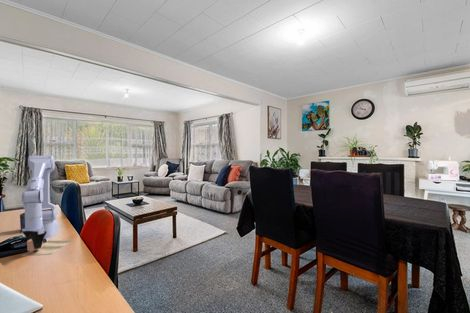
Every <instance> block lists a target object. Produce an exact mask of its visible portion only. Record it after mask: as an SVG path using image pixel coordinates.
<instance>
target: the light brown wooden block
mask: <svg viewBox="0 0 470 313" xmlns="http://www.w3.org/2000/svg"><path fill="white" fill-rule="evenodd" d="M43 244H44V241H43V242H42V246H41V248H42V247H43ZM26 245H27V247H26V248H27V252H29V251H34V250H38V249H40V248H38V249H35V248H34V246H33V241H32V239H30V240H28V241H26Z"/></svg>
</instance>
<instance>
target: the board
mask: <svg viewBox="0 0 470 313" xmlns="http://www.w3.org/2000/svg"><path fill="white" fill-rule="evenodd" d="M72 241H73V239H59V240H58V239H57V240H56V239H54V240H48V241H46V242H43V247H42V248H40V249H38V250H34V251H27V252H25V253H23V254H22V255H20V257H31V256H47V255H52V254H53V253H56V251H59V249H61V248H63V247H64V246H66V245H67V244H69V243H71V242H72Z"/></svg>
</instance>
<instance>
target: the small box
mask: <svg viewBox="0 0 470 313" xmlns="http://www.w3.org/2000/svg"><path fill="white" fill-rule="evenodd" d="M19 222H20V223H19V224H20V232H21V233H23V232H24V231H22V229H25V211H24V212H22V213H20V214H19Z"/></svg>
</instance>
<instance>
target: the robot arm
mask: <svg viewBox="0 0 470 313" xmlns="http://www.w3.org/2000/svg"><path fill="white" fill-rule="evenodd" d="M55 161H56V160H55V156H54V155H52V154H48V155H29V156H28V158H27V165H28V167H29V169H30V170H31V172H32V174H31V177H30V178H29V179H27V183H26V187H25V191H24V192H22V194H21V201H22V208H23V209H24V212H25V229H22V231H24V232H22V234H23V235H24V236H25V238H26V240H27V241H28V240H30V239H32V241H33V246H34V248H35V249H38V248H41V246H42V242H43V243H44V239H45V240H46V239H49V238H50V239H51V238H52V237H54V236H55V235H56V234H59V232H60V231H59V222H58V221H57V216H58V211H57V210H58V209H57V206H56V205H55V204H54V203H51V201H50V200H51V199H50V198H51V197H50V192H51V191H50V175H51V173H52V172H53V171H55V168H56V167H55V163H56V162H55ZM27 241H26V242H27Z"/></svg>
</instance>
